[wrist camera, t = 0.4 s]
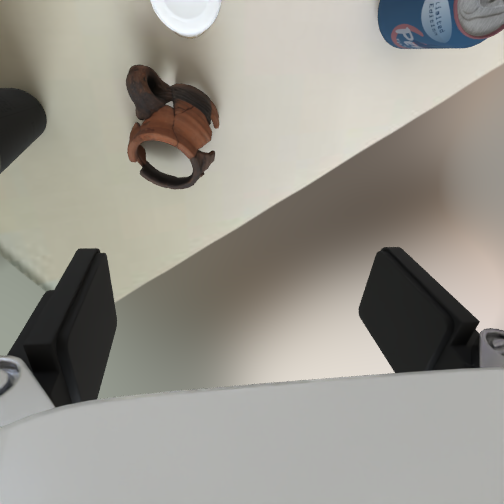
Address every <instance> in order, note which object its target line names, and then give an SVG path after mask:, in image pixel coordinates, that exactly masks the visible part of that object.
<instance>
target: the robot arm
mask: <svg viewBox="0 0 504 504" xmlns="http://www.w3.org/2000/svg"><path fill="white" fill-rule="evenodd" d="M359 316H360V318H361V320H362V321H363V323H364V324H365V326H366V328H367V329H368V331H369V332H370V334H371V336H372V337H373V339H374V340H375V342H376V343H377V345H378V346H379V348H380V350H381V351H382V353H383V354H384V356H385V358H386V359H387V361H388V362H389V364H390V365H391V367H392V368H393V370H394V372H395V373H392V374H379V375H364V376H351V377H339V378H325V379H312V380H300V381H287V382H276V383H263V384H251V385H239V386H228V387H216V388H204V389H192V390H181V391H170V392H159V393H148V394H139V395H130V396H120V397H113V398H104V399H97V398H98V393H99V390H100V386H101V383H102V379H103V375H104V371H105V368H106V364H107V360H108V357H109V353H110V349H111V346H112V342H113V338H114V335H115V331H116V326H117V317H116V310H115V304H114V298H113V291H112V285H111V279H110V273H109V266H108V260H107V255H106V253H100V250H99V249H78V250H77V251H76V253H75V255H74V257H73V258H72V260H71V262H70V264H69V265H68V267H67V269H66V271H65V272H64V274H63V276H62V278H61V279H60V281H59V283H58V285H57V286H56V288H55V290H49V291H47V292H46V293H45V294H44V295H43V297H42V298H41V300H40V302H39V303H38V305H37V307H36V308H35V310H34V312H33V313H32V315H31V317H30V318H29V320H28V322H27V323H26V325H25V327H24V328H23V330H22V332H21V333H20V335H19V337H18V339H17V340H16V341H15V343H14V345H13V346H12V348H11V350H10V351H9V353H8V355H7V356H0V504H504V331H503V330H499V329H491V328H490V329H484V330H483V331H481V332H480V334H479V333H478V332H477V331H476V330H475V329H476V327H477V325H478V324H479V321H478V320H477V319H476V318H475V317H474V316H473V315H472V314H471V313H470V312H469V311H468V310H467V309H466V308H464V307H463V306H462V305H461V304H460V303H459V302H458V301H457V300H456V299H455V298H454V297H453V296H452V295H451V294H449V292H448V291H446V290H445V289H444V288H443V287H442V286H441V285H440V284H439V283H438V282H437V281H436V280H435V279H434V278H432V277H431V276H430V275H429V274H428V273H427V272H426V271H425V270H424V269H423V268H422V267H421V266H420V265H419V264H418V263H416V262H415V261H414V260H413V259H412V258H411V257H410V256H409V255H408V254H407V253H406V252H405V251H404V250H403V249H401V248H400V247H384V248H383V249H382V250H381V251H379V252H378V253H377V254H376V257H375V260H374V263H373V266H372V269H371V272H370V275H369V278H368V281H367V284H366V287H365V291H364V294H363V297H362V300H361V303H360V306H359Z"/></svg>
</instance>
